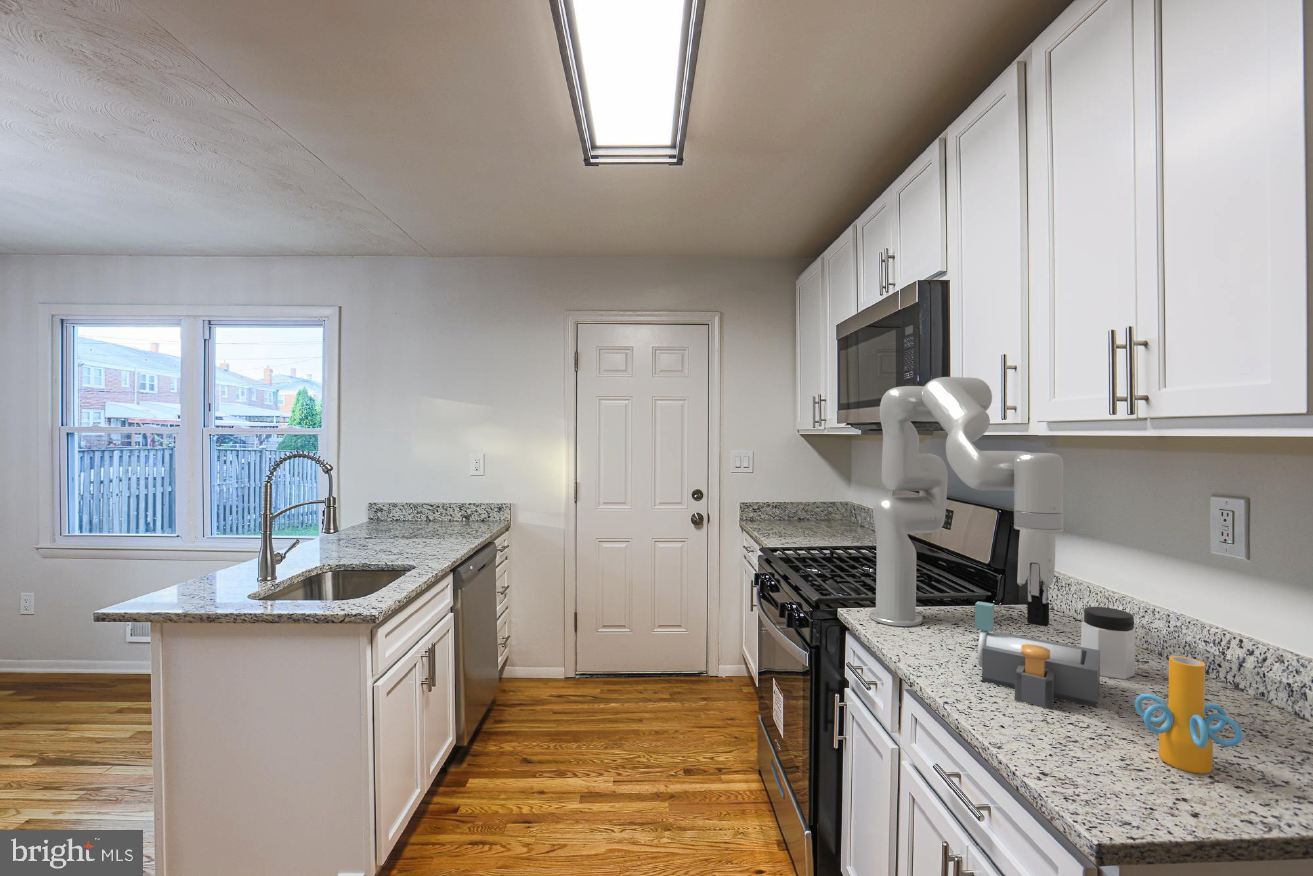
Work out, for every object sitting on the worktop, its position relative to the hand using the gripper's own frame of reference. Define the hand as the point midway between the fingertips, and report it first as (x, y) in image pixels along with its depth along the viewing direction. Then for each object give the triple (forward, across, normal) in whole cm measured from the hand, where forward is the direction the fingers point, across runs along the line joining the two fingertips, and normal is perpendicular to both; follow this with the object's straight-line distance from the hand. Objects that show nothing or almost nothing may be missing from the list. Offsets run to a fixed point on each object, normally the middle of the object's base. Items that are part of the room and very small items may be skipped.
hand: (1038, 623), depth 110 cm
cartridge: (+13, -10, -3) cm, 16 cm away
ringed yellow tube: (+14, +11, +19) cm, 26 cm away
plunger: (+11, 0, -1) cm, 11 cm away
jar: (+14, -25, +9) cm, 30 cm away
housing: (+14, -7, -1) cm, 15 cm away
